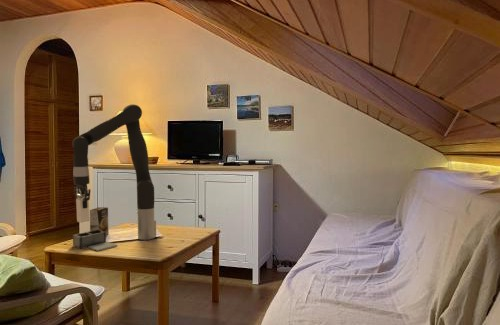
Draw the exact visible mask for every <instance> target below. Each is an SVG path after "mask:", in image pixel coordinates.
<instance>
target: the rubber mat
mask: <svg viewBox="0 0 500 325" xmlns="http://www.w3.org/2000/svg"><path fill="white" fill-rule="evenodd" d="M117 247H118V244H116V243H113V242H110V241H106V242H105V243H101V244H97V245H93V246H89V247H88V249H90V248H91V249H90V250H93V251H95V250H96V252H100V251H99V250H101V251H105V250H109V249H113V248H117ZM108 248H109V249H108ZM104 249H105V250H104Z"/></svg>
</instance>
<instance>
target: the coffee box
mask: <svg viewBox="0 0 500 325" xmlns="http://www.w3.org/2000/svg"><path fill="white" fill-rule="evenodd" d="M94 230H101V231H104V232H106V236H108V235H109V208H108V207H106V206H105V207H103V206H102V207H99V206H98V207H96V208H95V207H94V208H92V209H89V231H94ZM107 234H108V235H107Z"/></svg>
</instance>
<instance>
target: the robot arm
mask: <svg viewBox="0 0 500 325" xmlns="http://www.w3.org/2000/svg"><path fill="white" fill-rule="evenodd" d="M142 114H143V110H142V108H141V107H140V106H139V105H138V104H129V105H126V106H124V108H123V110H122V111H121V112H120V113H118V114H117V115H115V116H113V117H112V118H109V119H108V120H105V121H104V122H102V123H99V124H98V125H96V126H94V127H92V128H91V129H89V130H88V131H87V132H83V133H82V134H79V135H78V136H77V137H74V138H73V139H72V142H71V144H72V147H73V159H72V160H73V171H72V173H73V174H72V175H73V176H72V178H73V185H76V187H73V193H74V198H75V200H76V199H78V198H82V203H83V208H87V201H88V200H89V201H90V199H91V198H90V197H91V193H92V192H91V189H90V188H88V185H89V184H90V170H89V146H91V145H93V144H94V143H96V142H99V141H101V140H102V139H104V138H106V137H107V136H109V135H110V134H112V133H113V132H115V131H116V130H118V129H120V128H122V127H124V126H125V127H126V133H127V139H128V140H127V141H128V148H129V153H130V158H131V162H132V165H133V168H134V171H135V175H136V178H135V179H136V200H137V202H136V204H137V205H136V208H137V210H136V211H137V212H136V213H137V239H138V240H141V241H146V240H147V241H148V240H152V239H155V238H156V237H157V220H156V219H155V185H154V184H153V181H152V177H151V174H150V169H149V152H148V147H147V143H146V140H145V137H144V135H143V133H142V130H141V125H140V119H141V117H142Z"/></svg>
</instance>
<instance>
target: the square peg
mask: <svg viewBox="0 0 500 325" xmlns="http://www.w3.org/2000/svg"><path fill="white" fill-rule="evenodd" d="M89 202H90V200H88V201H87V208H83V203H82V198H78V199H76V198H75V205H76V206H75V207H76V221H77V223H87V222H90V208H89V207H90V205H89V204H90V203H89Z"/></svg>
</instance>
